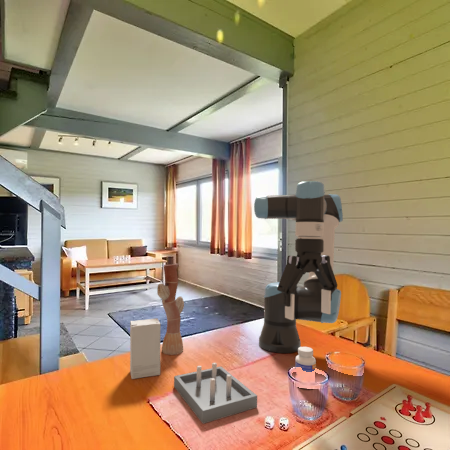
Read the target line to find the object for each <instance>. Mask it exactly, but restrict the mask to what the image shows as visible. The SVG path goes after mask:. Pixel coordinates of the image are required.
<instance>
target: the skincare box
mask: <svg viewBox="0 0 450 450" xmlns="http://www.w3.org/2000/svg"><path fill="white" fill-rule="evenodd" d="M129 336H130V337H129V340H130V341H129V343H130V345H129V349H130V350H129V351H130V354H129V358H130V359H129V362H130V363H129V365H130V367H129V371H130V376H131V377H130V378H131V380H135V379H140V378H146V377H154V376H161V322H160V320H159V319H158V318H148V319H138V320H130V324H129Z"/></svg>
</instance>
